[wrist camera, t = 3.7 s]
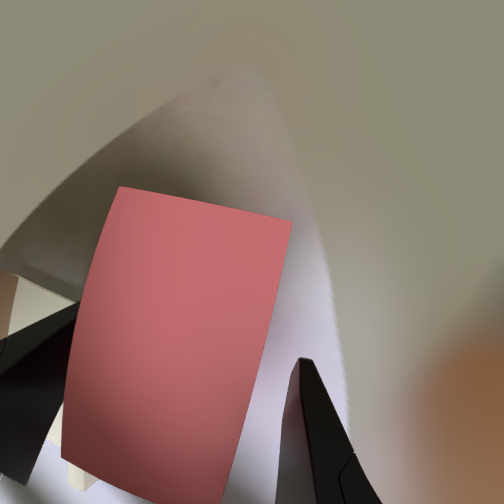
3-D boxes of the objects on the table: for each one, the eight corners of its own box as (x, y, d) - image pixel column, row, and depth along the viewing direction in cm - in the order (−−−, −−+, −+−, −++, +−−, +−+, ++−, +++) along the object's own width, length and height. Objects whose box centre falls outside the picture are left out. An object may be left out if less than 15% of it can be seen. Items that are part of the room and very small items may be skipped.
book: (236, 408, 14) (215, 519, 4) (165, 388, 14) (61, 457, 4) (266, 286, 16) (292, 221, 6) (195, 269, 16) (119, 185, 6)
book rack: (112, 466, 12) (34, 532, 4) (3, 397, 13) (-80, 407, 4) (136, 325, 15) (27, 318, 6) (20, 276, 15) (-73, 242, 7)
